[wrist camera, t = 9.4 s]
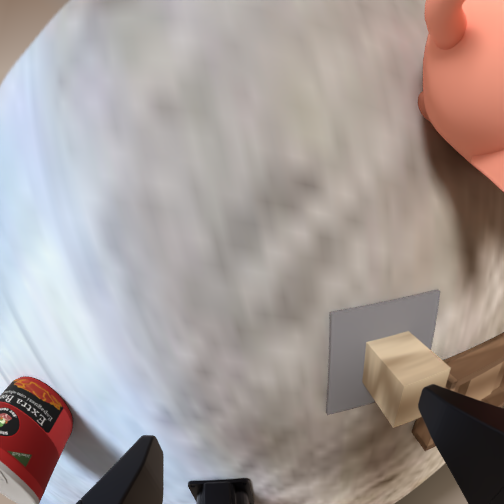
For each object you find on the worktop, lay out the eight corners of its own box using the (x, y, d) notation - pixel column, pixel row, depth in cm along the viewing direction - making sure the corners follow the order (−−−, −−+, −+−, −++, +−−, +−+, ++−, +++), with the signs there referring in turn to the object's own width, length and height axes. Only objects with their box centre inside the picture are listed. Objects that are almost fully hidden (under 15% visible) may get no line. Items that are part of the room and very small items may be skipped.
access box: (498, 386, 26) (512, 399, 23) (411, 432, 25) (425, 451, 22) (518, 324, 24) (536, 334, 21) (431, 364, 23) (451, 383, 19)
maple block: (401, 369, 22) (437, 409, 16) (362, 381, 22) (393, 428, 16) (408, 331, 21) (450, 367, 15) (366, 342, 21) (404, 386, 15)
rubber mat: (420, 383, 23) (422, 385, 23) (326, 412, 23) (327, 414, 22) (437, 289, 21) (440, 290, 21) (329, 312, 20) (331, 314, 20)
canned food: (70, 390, 20) (19, 478, 9) (80, 442, 22) (48, 520, 11) (7, 361, 19) (-53, 428, 8) (22, 417, 21) (-19, 481, 10)
